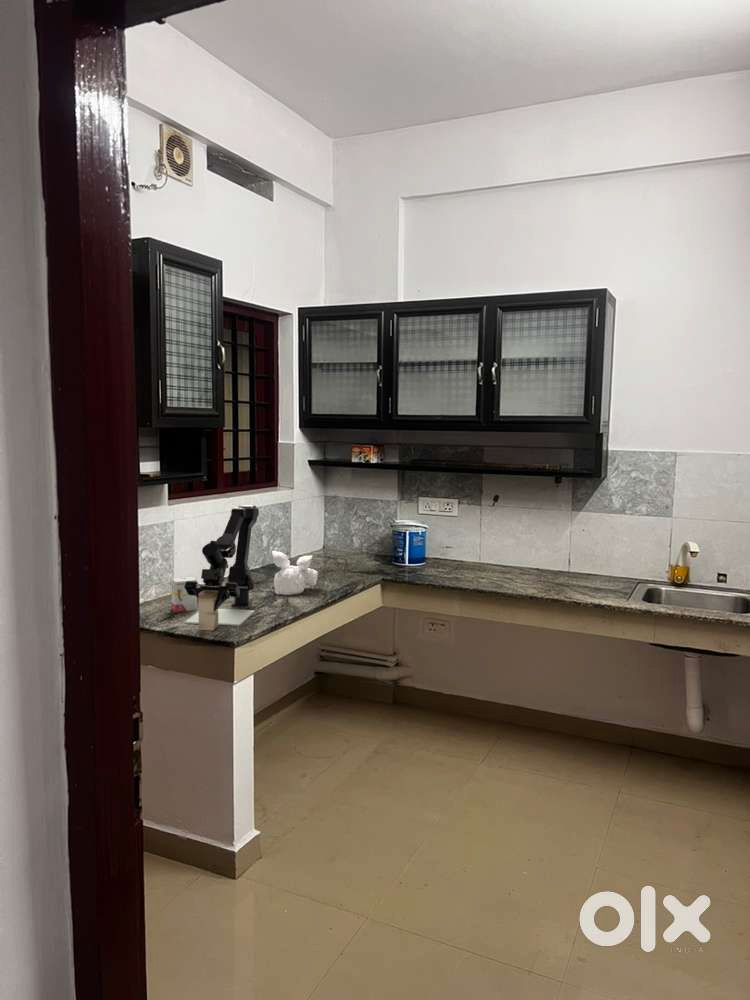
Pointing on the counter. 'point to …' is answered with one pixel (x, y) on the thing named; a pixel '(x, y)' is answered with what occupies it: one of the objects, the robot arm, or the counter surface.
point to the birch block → (207, 610)
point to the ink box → (182, 596)
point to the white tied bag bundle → (292, 574)
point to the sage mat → (226, 617)
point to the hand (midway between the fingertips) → (206, 609)
